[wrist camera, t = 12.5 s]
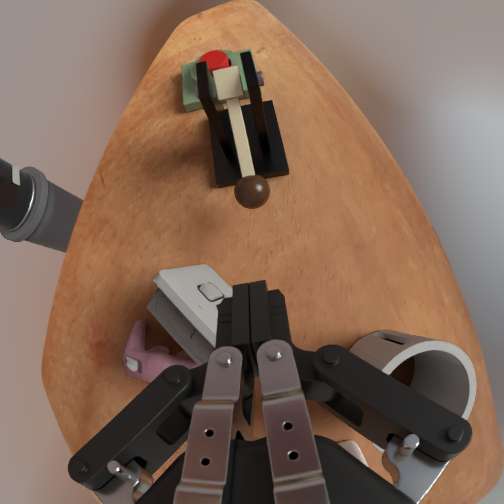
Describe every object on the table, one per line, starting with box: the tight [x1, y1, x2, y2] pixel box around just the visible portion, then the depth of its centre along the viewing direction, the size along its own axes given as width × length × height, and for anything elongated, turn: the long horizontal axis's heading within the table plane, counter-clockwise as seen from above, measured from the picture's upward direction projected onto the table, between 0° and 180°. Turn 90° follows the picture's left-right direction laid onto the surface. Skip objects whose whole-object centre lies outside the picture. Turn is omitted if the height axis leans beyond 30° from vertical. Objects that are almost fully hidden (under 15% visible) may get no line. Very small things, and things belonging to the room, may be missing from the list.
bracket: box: [195, 51, 289, 188], centre depth 29 cm, size 10×8×13 cm
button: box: [199, 50, 230, 77], centre depth 34 cm, size 4×4×2 cm
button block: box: [182, 49, 262, 112], centre depth 36 cm, size 10×8×4 cm
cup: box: [349, 330, 477, 453], centre depth 23 cm, size 9×9×12 cm
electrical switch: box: [146, 264, 233, 366], centre depth 28 cm, size 9×5×9 cm, turn 45°
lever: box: [213, 66, 270, 209], centre depth 26 cm, size 13×3×3 cm
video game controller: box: [123, 319, 199, 383], centre depth 29 cm, size 10×5×7 cm, turn 86°
